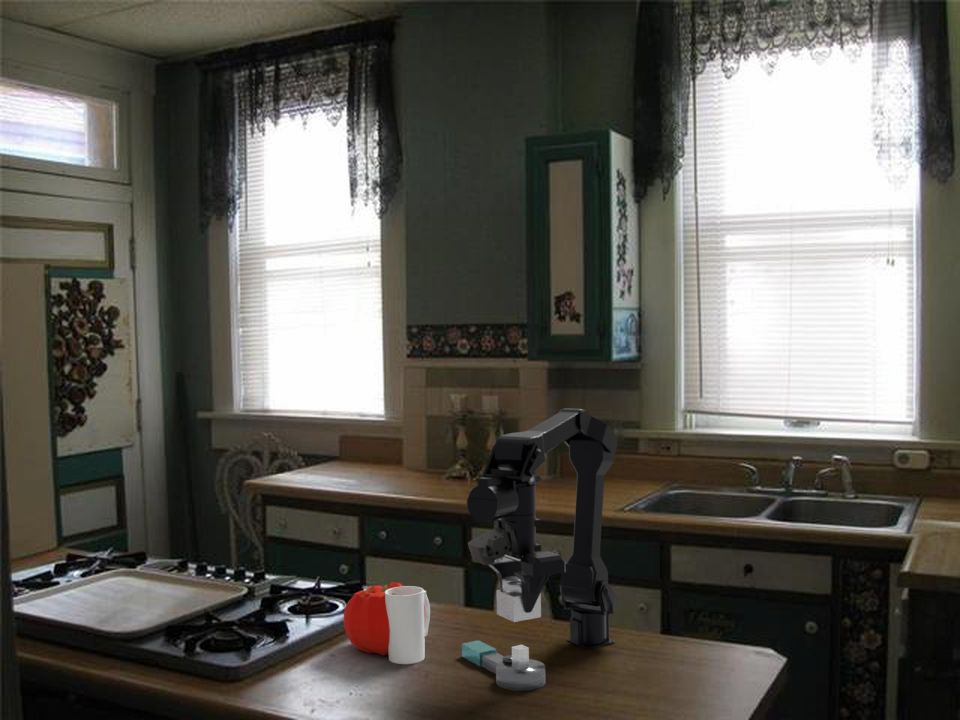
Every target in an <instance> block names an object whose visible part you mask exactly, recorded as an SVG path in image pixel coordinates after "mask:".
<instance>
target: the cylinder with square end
mask: <svg viewBox="0 0 960 720" xmlns="http://www.w3.org/2000/svg"><path fill="white" fill-rule="evenodd" d="M496 615H497V616H499V617H502V618H503V619H506V620H509V621H510V622H513V623H517V622H521V621H528V620H533V619H538V618H541V617H542V592H541V593H540V595H539V597H538V599H537V601H536V603H535V606H534V608H533V610H532V612H529V613H526V612H525V609H524V603H523V593H522V582H521V580H520V579H519V578H518V577H517V576H516V575H515V576H507V577H504V578H503V589H502V588H500V589H497V590H496Z"/></svg>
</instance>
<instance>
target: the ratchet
mask: <svg viewBox="0 0 960 720" xmlns="http://www.w3.org/2000/svg"><path fill="white" fill-rule="evenodd" d="M529 649H530V647H528V646H525V645H524V644H517V645H514V646H511V655H508V654H507V655H502V654H501V653H498V652H497V648H495V647H493V646H491V645H489V644H487V643H484V642H482V641H481V640H480V639H478V640H474V641H473V640H472V641H468V642H464V643H461V657H462V658H464V659H466V660H467V661H469V662H471V663H473V664H475V665H476V666H478V667H482V668H484V669H485V670H487V671H489V672H490V673H493V674H495V683H496V685H497V686H498V687H499V688H501V689H504V690H508V691H513V692H523V691H524V692H525V691H533V690H537V689H540V688H543V686H545V684H546V665H545V664H544V662H541V661H539V660H538V659H537V660H536V659H532V658H530V650H529Z"/></svg>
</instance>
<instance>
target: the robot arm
mask: <svg viewBox="0 0 960 720" xmlns="http://www.w3.org/2000/svg"><path fill="white" fill-rule="evenodd" d="M562 443H564V444H565V445H566V446H567V447H568V449H569V450H568V451H569V452H568V454H569V461H570V462H571V464H572V466H573V468H574V470H575V472H576V474H577V475H576V491H575V493H576V494H575V507H574V508H575V509H574V526H573V527H574V528H573V530H574V531H573V543H572V544H573V545H572V555H570V557H569V558H568V560H567V561H566V559H565V558H564V557H563V556H562V555H561V554H560V553H556V552H552V551H549V550H547V551H542V544H540V543H537V542H536V541H537V535H536V534H537V533H536V532H537V528H536V527H541V526H542V519H541V518H537V516H536V515H537V514H536V511H537V510H536V509H537V508H536V504H537V503H536V499H537V498H536V484H540V483H541V482H542V481H543V480H542V479H543V478H542V477H541V476H540V475H539V474H537V472H536V471H537V470H538V469H539V468H540V467H541V466H542V465H543V464H544V463H545V462H546V460H547V459H546V458H547V457H546V454H548V452H550V451H552V450H553V449H555V448H556V447H558V446H559V445H561V444H562ZM617 448H618V437H617V435H616V433H615V432H614V431H613V430H612V428H611V427H609V425H608V424H606V423H605V422H603V421H601V420H599V419H598V418H595V417H593V416H592V415H591V414H590V413H589V411H588V410H585V409H583V408H562V409H559V410H558V411H557V413H556V414H554V415H552V416H551V417H549V418H546V419H545V420H543V421H542V422H540V423H538V424H537V425H535V426H533V427H531V428H529V429H528V430H525V431H518V432H510V433H506V434H502V435H500V436H499V437H497V439H496V440H495V442H494V444H493V446H492V449H491V451H490V454H489V457H488V460H487V463H486V465H485V467H484V470H483V472H482V475H481V477H478V478H477V486H475V487H474V488H472V489H471V491H470V492H469V494H468V498H467V500H466V505H467V510H468V512H469V514H470V516H471V517H472V518H473V519H474V520H476V521H477V522H480V523H488V522H492V521H493V529H491V530H488V531H487V532H484V533H482V534H481V535H479V536H476V537H475V538H473V539H471V540H470V541H469V542H467V545H468V548H469V550H470V551H469V552H470V555H471V557H472V561H473V562H474V563H480V564H481V565H482V566H489V567H490V569H492V570H493V571H494V572H495V573H496V576H497V579H498V581H499V585H500V587H501V588H500V589H503V578H504V577H507V576H515V575H516V576H517V577H518V578H519V579H520V580H521V582H522V593H523V603H524V609H525V612H526V613H529V612H532V610H533V608H534V606H535V603H536V601H537V599H538V597H539V595H540V593H541V594H542V591H543V589H544V586H546V583H547V582H548V579H549V578H550V576H553V575H558V574H560V581H559V592H560V596H561V601H562V606H563V609H564V610H571V618H570V620H569V635H570V636H569V637H567V638H566V641H567V642H569V643H570V644H573V645H575V646H578V647H579V648H580V647H581V648H582V649H585V650H593V649H596V648H602V647H605V646H611V645H614V644H616V641H615V640H614V639H612V638H610V615H612V614H615V613H616V612H615V611H616V610H617V608H618V601H619V598H618V596H617V594H616V593H615V592H614V590H613V588H612V587H611V586H610V583H609V572H608V571H609V570H608V568H607V567H606V565H605V562H604V561H603V559H602V557H601V539H602V538H601V537H602V526H603V525H602V523H603V509H604V508H603V504H604V489H605V487H604V486H605V476H606V474H607V473H608V471H609V469H610V468H611V466H612V465H614V461H615V455H616V451H617Z"/></svg>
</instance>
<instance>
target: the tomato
mask: <svg viewBox="0 0 960 720" xmlns="http://www.w3.org/2000/svg"><path fill="white" fill-rule="evenodd" d="M403 586H404V585H402V583H400V582H395V581H394V582H393V581H391V582H390V583H389V584H385V585H383V586H382V585H372V586H370V587H368V588H367V589H365V590H363V589H362V590H359V591H357V592H355V593H354V594H353V596H352V597H351V598H350V600H348V602H347V604H346V606H345V609H344V611H343V627H344V631H345V633H346V636H347V637H348V639H349V641H350V643H351V644H352V645H353V646H354V647H355V648H356V649H358V650H360V651H362V652H365V653H367V654H378V655H380V656H383V657H385V656H387V655H388V656H389V653H388V648H389V638H390V628H389V619H388V615H387V609H386V604H385V591H386V590H388V589H391V588H395V587H403ZM392 595H395V594H392ZM400 596H403V595H400Z"/></svg>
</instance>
